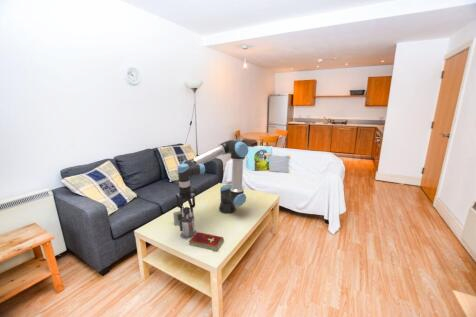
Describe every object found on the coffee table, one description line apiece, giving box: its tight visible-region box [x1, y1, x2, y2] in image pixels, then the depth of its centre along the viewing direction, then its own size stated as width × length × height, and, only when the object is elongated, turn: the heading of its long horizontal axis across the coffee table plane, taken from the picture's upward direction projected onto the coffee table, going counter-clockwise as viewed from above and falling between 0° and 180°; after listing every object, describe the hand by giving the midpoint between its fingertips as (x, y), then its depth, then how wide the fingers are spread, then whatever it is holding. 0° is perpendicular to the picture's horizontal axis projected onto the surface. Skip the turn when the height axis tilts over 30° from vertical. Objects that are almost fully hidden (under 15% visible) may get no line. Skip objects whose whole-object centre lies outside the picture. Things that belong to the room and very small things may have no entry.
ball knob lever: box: [183, 206, 190, 219], centre depth 159 cm, size 5×5×19 cm
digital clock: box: [172, 210, 195, 226], centre depth 178 cm, size 16×9×11 cm, turn 101°
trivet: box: [180, 229, 197, 240], centre depth 162 cm, size 12×12×1 cm
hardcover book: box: [188, 231, 224, 252], centre depth 152 cm, size 12×21×4 cm, turn 71°
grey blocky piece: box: [179, 215, 195, 237], centre depth 161 cm, size 10×8×13 cm
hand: (187, 215), depth 158 cm, fingers closed on ball knob lever, 5 cm apart
